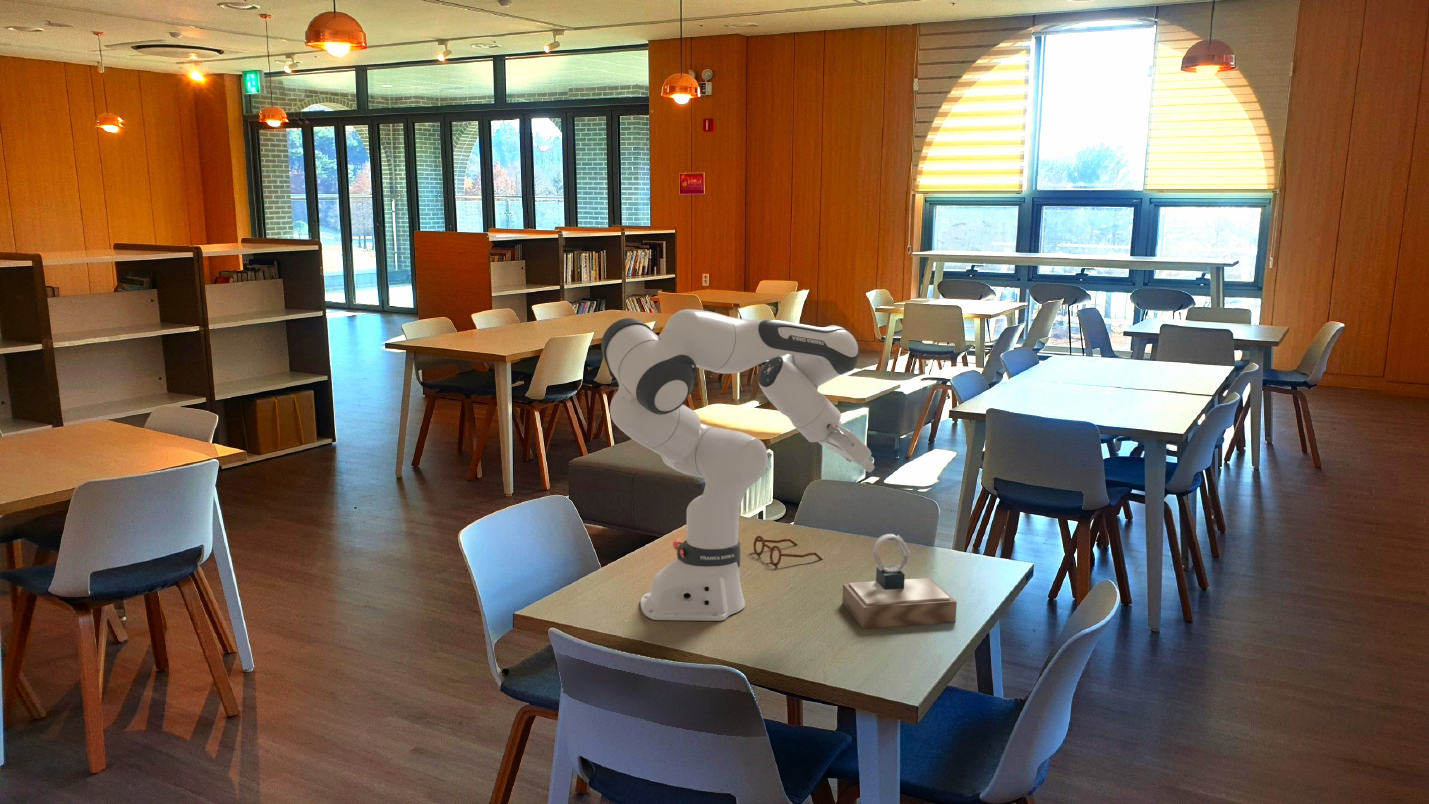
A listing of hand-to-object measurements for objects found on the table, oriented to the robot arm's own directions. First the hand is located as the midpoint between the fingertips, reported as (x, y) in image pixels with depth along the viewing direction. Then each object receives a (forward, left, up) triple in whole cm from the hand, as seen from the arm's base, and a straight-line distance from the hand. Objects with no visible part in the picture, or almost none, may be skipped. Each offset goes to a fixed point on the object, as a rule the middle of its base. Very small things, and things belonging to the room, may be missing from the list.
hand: (861, 464), depth 213 cm
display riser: (+7, -5, -31) cm, 33 cm away
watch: (+7, -2, -27) cm, 27 cm away
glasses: (-6, +35, -32) cm, 48 cm away
